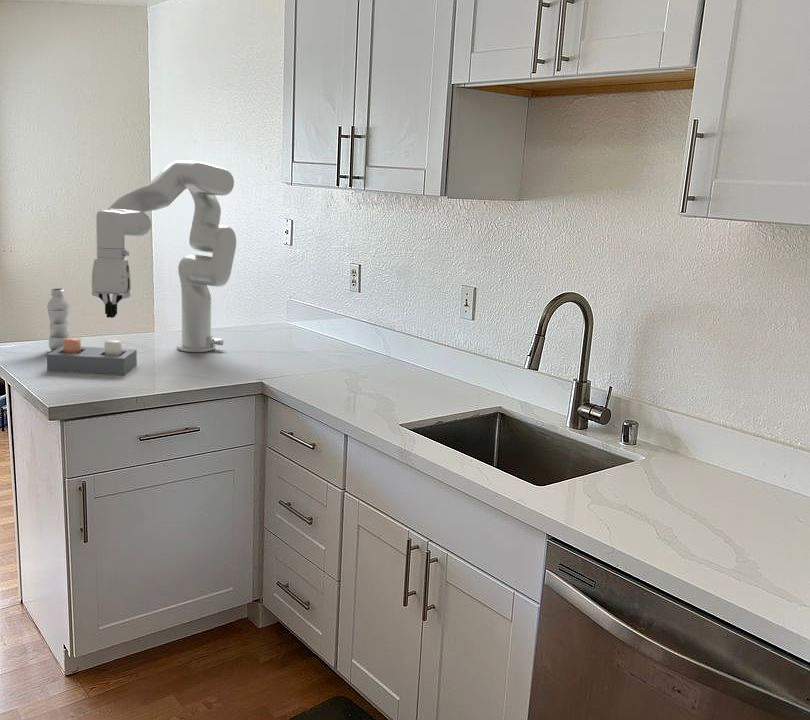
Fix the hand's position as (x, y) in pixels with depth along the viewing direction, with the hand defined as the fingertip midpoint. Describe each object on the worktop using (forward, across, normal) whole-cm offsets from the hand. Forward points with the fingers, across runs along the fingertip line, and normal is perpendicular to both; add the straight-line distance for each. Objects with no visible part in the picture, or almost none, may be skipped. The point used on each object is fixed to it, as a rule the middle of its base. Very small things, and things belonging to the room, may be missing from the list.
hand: (111, 316), depth 231 cm
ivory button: (+12, 0, -1) cm, 13 cm away
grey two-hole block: (+16, +6, -1) cm, 17 cm away
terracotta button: (+13, +12, -1) cm, 17 cm away
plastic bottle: (+16, +23, -20) cm, 34 cm away
